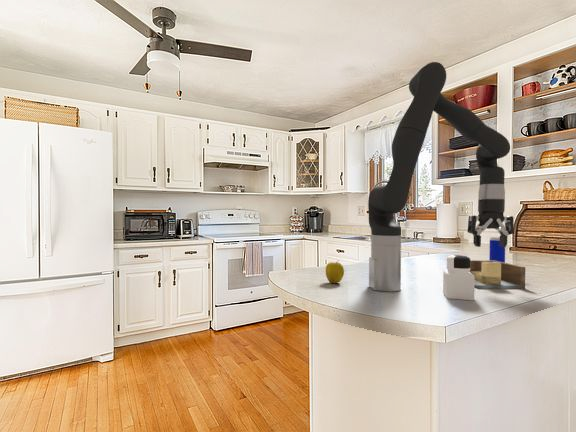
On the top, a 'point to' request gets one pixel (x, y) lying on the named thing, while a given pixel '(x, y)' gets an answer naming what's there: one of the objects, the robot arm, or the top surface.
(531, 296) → the top surface
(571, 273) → the top surface
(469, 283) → the medicine bottle
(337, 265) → the apple
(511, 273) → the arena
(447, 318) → the top surface
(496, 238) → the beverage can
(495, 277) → the brass bracket
